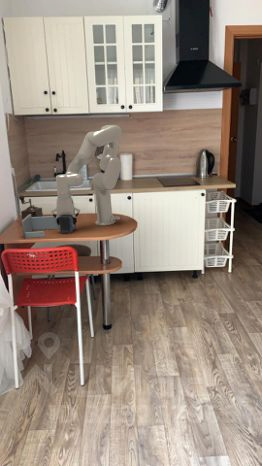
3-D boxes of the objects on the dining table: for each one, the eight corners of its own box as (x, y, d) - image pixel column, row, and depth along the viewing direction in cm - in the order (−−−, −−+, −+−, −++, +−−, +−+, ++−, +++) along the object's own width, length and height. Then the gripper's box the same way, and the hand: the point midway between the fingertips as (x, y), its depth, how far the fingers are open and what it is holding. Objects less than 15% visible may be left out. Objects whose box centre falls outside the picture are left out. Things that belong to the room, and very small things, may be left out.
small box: (70, 234, 222) (68, 216, 219) (60, 234, 223) (58, 216, 220) (76, 228, 232) (75, 212, 229) (66, 228, 233) (64, 212, 230)
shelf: (69, 227, 236) (67, 211, 233) (64, 235, 220) (62, 218, 217) (31, 229, 237) (29, 214, 234) (23, 238, 220) (21, 221, 218)
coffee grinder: (44, 220, 258) (41, 194, 252) (36, 225, 247) (32, 197, 242) (24, 220, 262) (20, 194, 257) (15, 225, 252) (11, 198, 246)
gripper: (79, 194, 224) (82, 222, 229) (50, 195, 225) (53, 223, 230) (77, 196, 217) (80, 225, 222) (47, 197, 218) (51, 226, 222)
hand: (66, 224), depth 226 cm, fingers open, 9 cm apart
